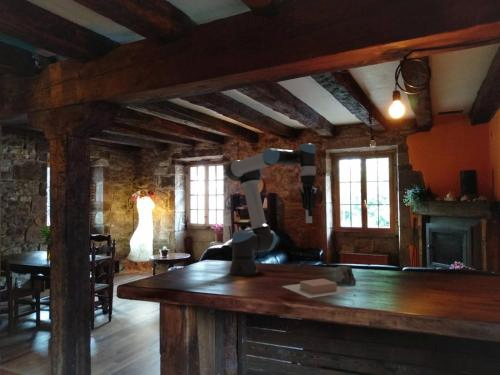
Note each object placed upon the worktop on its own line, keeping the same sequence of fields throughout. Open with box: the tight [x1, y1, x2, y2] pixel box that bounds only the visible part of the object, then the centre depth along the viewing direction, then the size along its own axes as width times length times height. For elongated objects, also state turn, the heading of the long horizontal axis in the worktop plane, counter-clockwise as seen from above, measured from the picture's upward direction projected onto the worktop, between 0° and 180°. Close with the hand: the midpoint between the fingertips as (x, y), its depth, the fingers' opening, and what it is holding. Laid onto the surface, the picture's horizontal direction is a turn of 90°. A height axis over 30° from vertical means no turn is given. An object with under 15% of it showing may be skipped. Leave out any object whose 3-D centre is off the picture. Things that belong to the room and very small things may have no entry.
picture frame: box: [299, 278, 338, 294], centre depth 157 cm, size 3×12×10 cm
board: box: [281, 283, 354, 299], centre depth 159 cm, size 22×22×1 cm
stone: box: [333, 265, 357, 286], centre depth 171 cm, size 10×10×10 cm
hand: (309, 222), depth 181 cm, fingers closed
